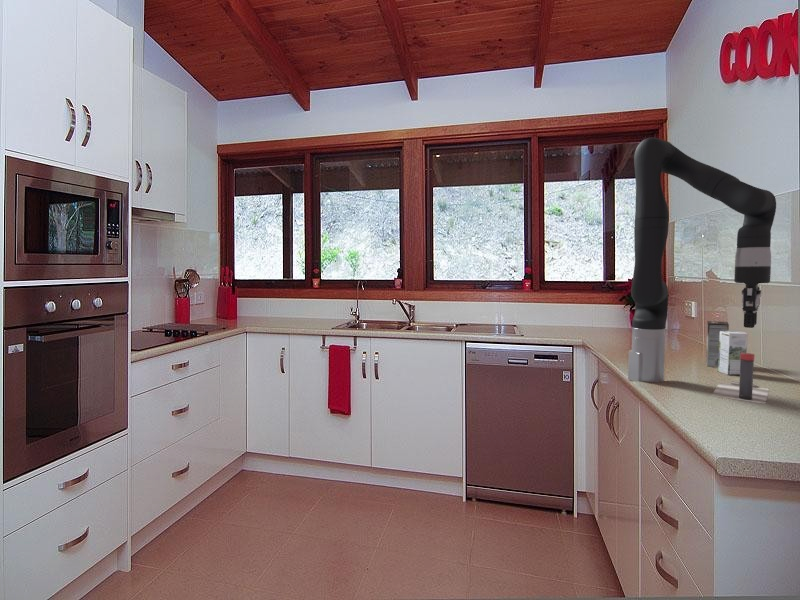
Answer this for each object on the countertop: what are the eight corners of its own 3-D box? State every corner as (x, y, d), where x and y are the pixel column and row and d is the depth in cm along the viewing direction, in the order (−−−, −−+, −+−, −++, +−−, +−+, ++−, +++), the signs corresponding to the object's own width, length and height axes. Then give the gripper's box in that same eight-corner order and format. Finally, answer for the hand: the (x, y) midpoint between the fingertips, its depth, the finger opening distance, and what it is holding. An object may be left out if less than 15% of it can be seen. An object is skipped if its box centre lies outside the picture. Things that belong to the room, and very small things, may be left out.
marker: (744, 400, 119) (746, 355, 118) (735, 396, 122) (737, 353, 121) (755, 399, 119) (757, 354, 118) (746, 396, 122) (748, 352, 121)
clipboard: (771, 409, 114) (771, 403, 114) (705, 399, 123) (705, 394, 123) (774, 391, 131) (774, 386, 131) (715, 384, 140) (715, 379, 140)
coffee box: (705, 362, 174) (706, 320, 173) (725, 363, 171) (727, 321, 170) (706, 366, 166) (708, 323, 165) (728, 368, 163) (729, 324, 162)
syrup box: (734, 371, 157) (736, 330, 156) (746, 375, 151) (747, 332, 150) (717, 371, 158) (719, 330, 157) (727, 375, 152) (729, 332, 151)
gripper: (769, 264, 111) (767, 329, 112) (771, 265, 122) (769, 324, 123) (732, 265, 116) (729, 327, 117) (737, 265, 127) (735, 322, 128)
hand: (750, 326), depth 120 cm, fingers open, 8 cm apart
